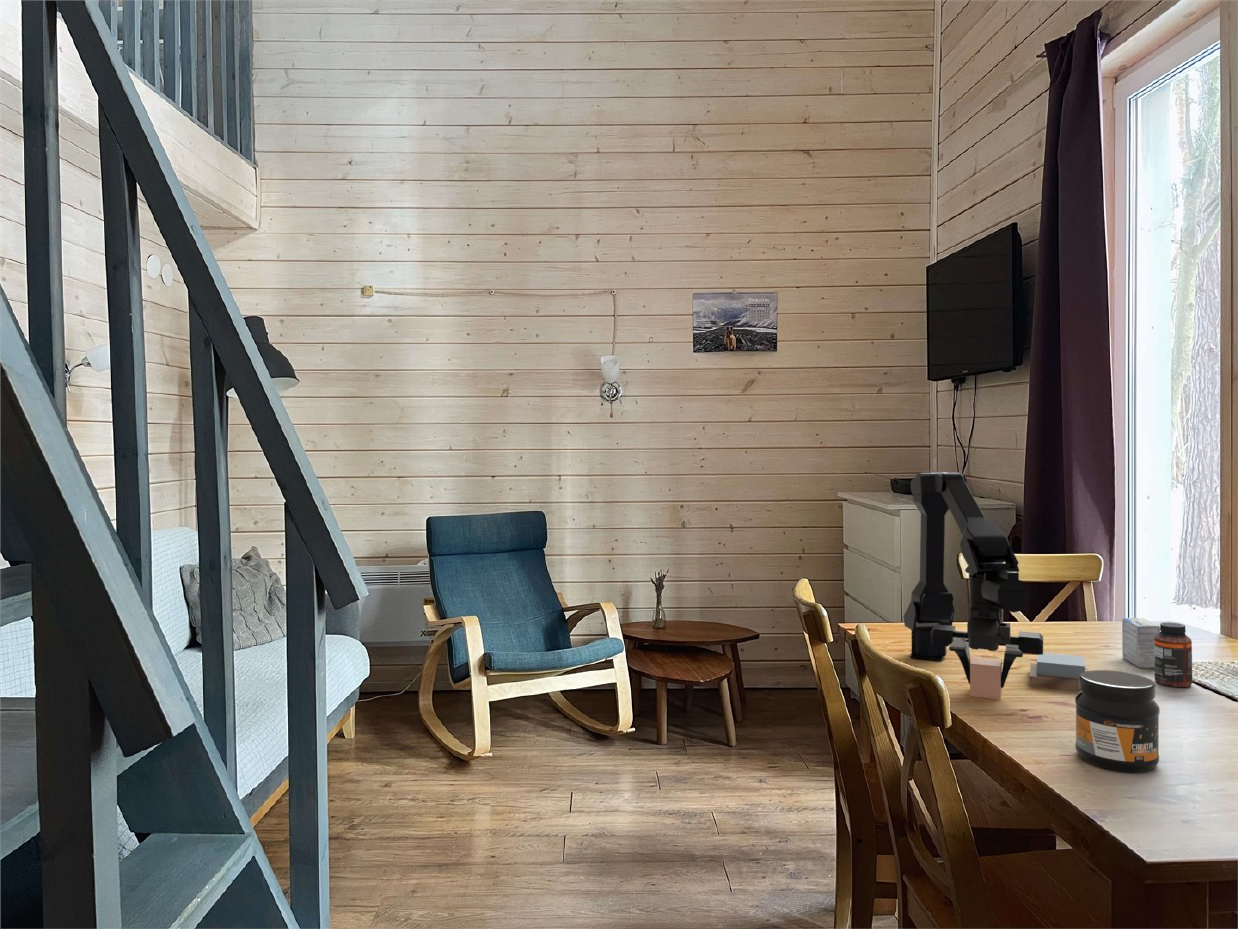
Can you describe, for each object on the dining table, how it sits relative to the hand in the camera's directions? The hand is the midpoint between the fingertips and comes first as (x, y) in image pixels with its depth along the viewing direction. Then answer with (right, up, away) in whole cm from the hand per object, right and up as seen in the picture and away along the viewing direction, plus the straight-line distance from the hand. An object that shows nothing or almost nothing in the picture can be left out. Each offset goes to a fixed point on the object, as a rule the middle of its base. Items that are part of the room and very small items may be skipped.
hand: (986, 685), depth 153 cm
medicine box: (+40, -1, +19) cm, 44 cm away
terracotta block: (0, -2, 0) cm, 2 cm away
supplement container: (+5, -3, -32) cm, 32 cm away
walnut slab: (+17, -2, +7) cm, 19 cm away
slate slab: (+17, +1, +7) cm, 19 cm away
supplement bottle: (+37, -1, +4) cm, 37 cm away
